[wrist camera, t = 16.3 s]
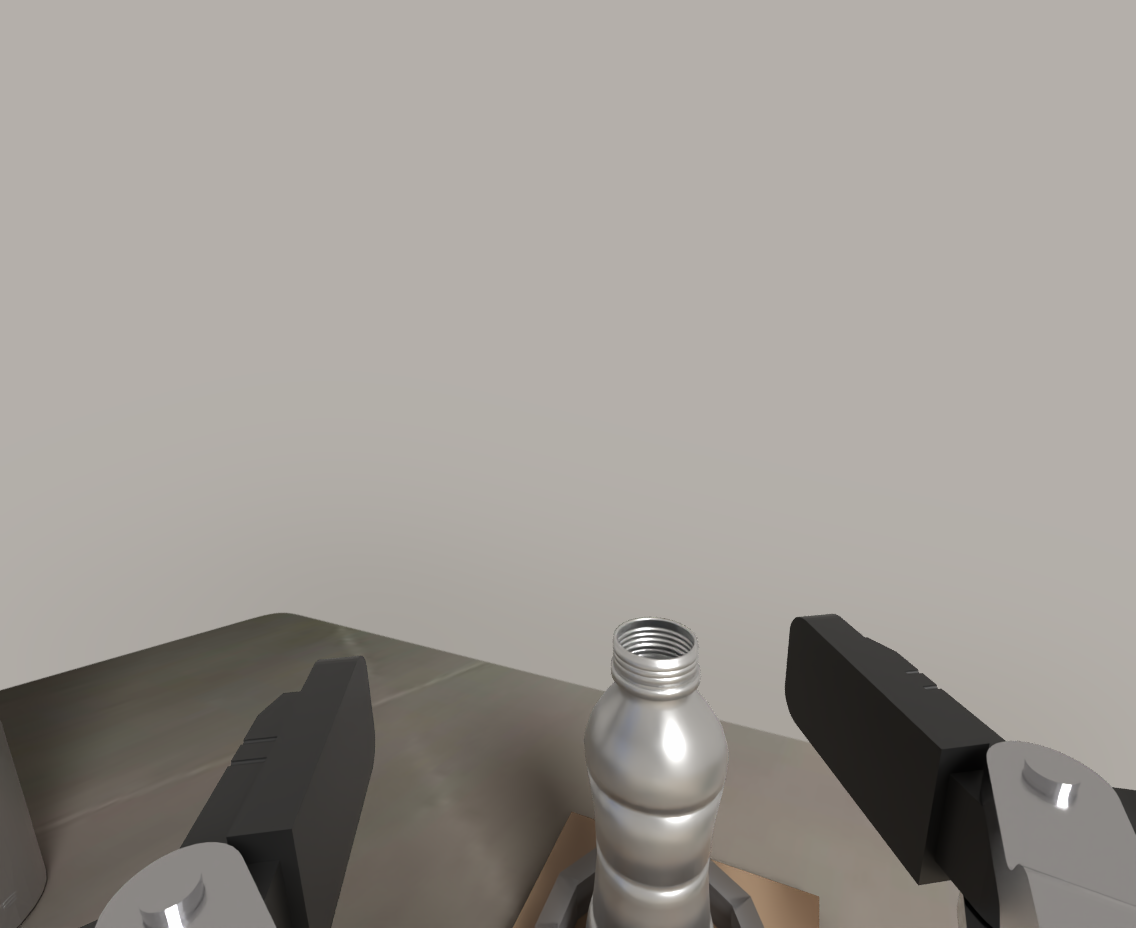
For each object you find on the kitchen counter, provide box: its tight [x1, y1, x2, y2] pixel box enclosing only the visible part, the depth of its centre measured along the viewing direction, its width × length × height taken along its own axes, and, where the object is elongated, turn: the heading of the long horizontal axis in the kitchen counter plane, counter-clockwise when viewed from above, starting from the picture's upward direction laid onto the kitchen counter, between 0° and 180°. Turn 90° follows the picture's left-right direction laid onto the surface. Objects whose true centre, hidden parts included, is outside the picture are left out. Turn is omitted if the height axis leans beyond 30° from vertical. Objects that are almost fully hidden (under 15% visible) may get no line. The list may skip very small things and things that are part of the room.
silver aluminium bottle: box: [584, 617, 729, 928], centre depth 27 cm, size 6×7×20 cm
